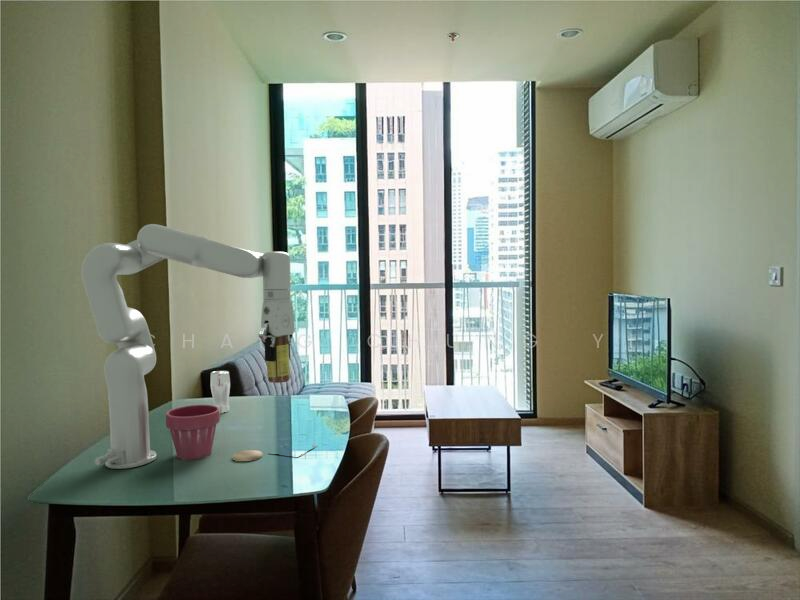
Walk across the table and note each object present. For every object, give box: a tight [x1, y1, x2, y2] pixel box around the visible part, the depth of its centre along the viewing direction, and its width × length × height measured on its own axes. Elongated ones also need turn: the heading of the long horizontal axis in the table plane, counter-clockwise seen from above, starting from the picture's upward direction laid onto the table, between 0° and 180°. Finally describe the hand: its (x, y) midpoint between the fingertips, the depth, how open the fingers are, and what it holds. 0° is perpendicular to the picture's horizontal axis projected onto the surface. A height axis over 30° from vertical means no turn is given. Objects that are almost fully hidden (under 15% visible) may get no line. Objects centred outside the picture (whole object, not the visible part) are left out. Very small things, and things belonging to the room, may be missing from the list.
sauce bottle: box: [266, 334, 291, 384], centre depth 148 cm, size 7×6×20 cm
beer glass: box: [210, 370, 231, 414], centre depth 196 cm, size 7×7×15 cm
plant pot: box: [165, 404, 221, 461], centre depth 149 cm, size 14×14×13 cm
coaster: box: [231, 449, 263, 462], centre depth 146 cm, size 8×8×1 cm
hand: (277, 358), depth 148 cm, fingers closed on sauce bottle, 6 cm apart
